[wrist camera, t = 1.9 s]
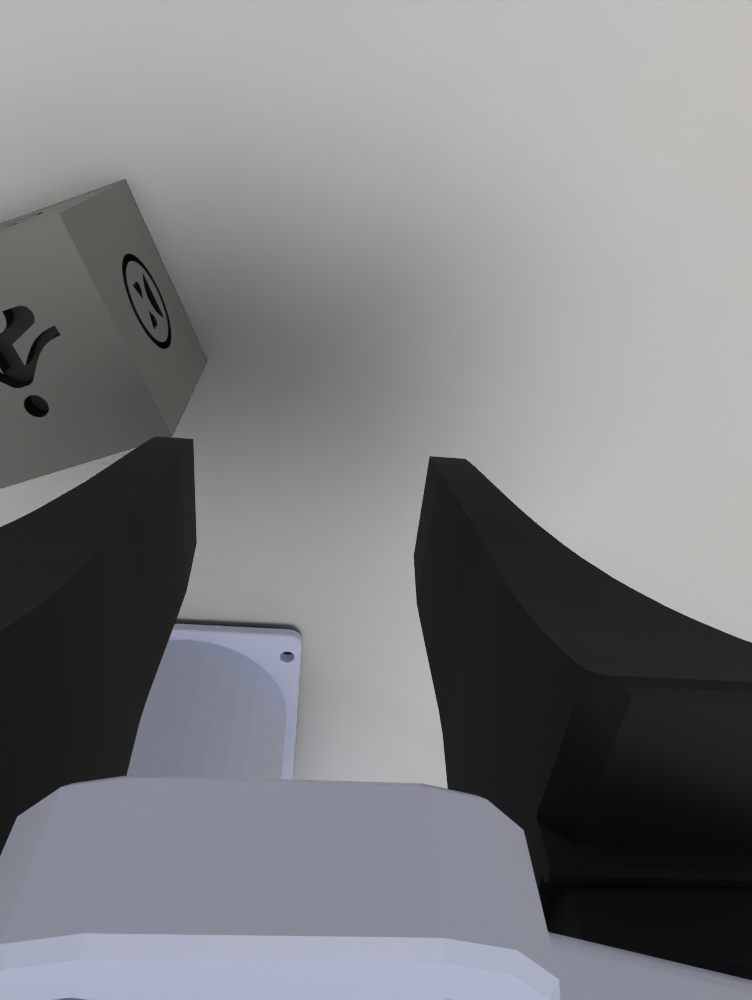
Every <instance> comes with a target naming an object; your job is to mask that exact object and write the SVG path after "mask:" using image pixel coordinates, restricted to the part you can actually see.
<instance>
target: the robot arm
mask: <svg viewBox="0 0 752 1000" xmlns="http://www.w3.org/2000/svg"><path fill="white" fill-rule="evenodd" d="M195 548H196V512H195V481H194V450H193V439H183V438H169V437H156V436H155V437H153V438H152V439H150V440H148V441H146V442H145V443H143V444H142V445H140V446H139V447H137V448H136V449H134V450H133V451H131V452H130V453H128V454H127V455H125V456H124V457H122V458H121V459H119V460H118V461H116V462H115V463H113V464H112V465H110V466H109V467H107V468H106V469H104V470H102V471H101V472H99V473H98V474H96V475H95V476H93V477H92V478H90V479H89V480H87V481H86V482H84V483H82V484H81V485H79V486H77V487H75V488H74V489H72V490H70V491H68V492H67V493H65V494H63V495H61V496H60V497H58V498H56V499H54V500H53V501H51V502H49V503H48V504H46V505H44V506H42V507H41V508H39V509H37V510H35V511H33V512H31V513H29V514H27V515H25V516H23V517H21V518H19V519H17V520H15V521H13V522H11V523H9V524H6V525H4V526H2V527H0V1000H752V643H751V642H748V641H745V640H742V639H740V638H737V637H735V636H732V635H730V634H727V633H725V632H722V631H720V630H718V629H715V628H713V627H711V626H708V625H706V624H703V623H701V622H699V621H696V620H694V619H692V618H689V617H687V616H685V615H683V614H681V613H679V612H677V611H674V610H672V609H670V608H668V607H666V606H664V605H662V604H660V603H658V602H656V601H654V600H653V599H651V598H649V597H647V596H645V595H643V594H641V593H639V592H637V591H635V590H633V589H632V588H630V587H628V586H626V585H625V584H623V583H621V582H619V581H618V580H616V579H614V578H612V577H611V576H609V575H608V574H606V573H605V572H603V571H601V570H600V569H598V568H597V567H595V566H594V565H592V564H591V563H589V562H587V561H586V560H584V559H583V558H581V557H580V556H578V555H577V554H576V553H574V552H573V551H571V550H570V549H569V548H567V547H566V546H564V545H563V544H562V543H561V542H559V541H558V540H557V539H556V538H554V537H553V536H552V535H550V534H549V533H548V532H547V531H545V530H544V529H543V528H541V527H540V526H539V525H538V524H537V523H536V522H534V521H533V520H532V519H531V518H530V517H528V516H527V515H526V514H525V513H524V512H523V511H522V510H520V509H519V508H518V507H517V506H516V505H515V504H514V503H513V502H512V501H510V500H509V499H508V498H507V497H506V496H505V495H504V494H503V493H502V492H501V491H500V490H499V489H498V488H497V487H496V486H495V485H494V484H492V483H491V482H490V481H489V480H488V479H487V478H486V477H485V476H484V475H483V474H482V473H481V472H480V471H479V470H478V469H477V468H476V467H474V466H473V465H472V464H471V463H470V462H469V461H467V460H466V459H458V458H445V457H431V456H430V458H429V464H428V471H427V477H426V483H425V489H424V496H423V502H422V508H421V515H420V521H419V527H418V533H417V540H416V546H415V552H414V566H415V583H416V597H417V606H418V612H419V617H420V622H421V627H422V632H423V637H424V641H425V646H426V651H427V656H428V661H429V665H430V670H431V675H432V680H433V684H434V689H435V694H436V699H437V704H438V708H439V714H440V720H441V727H442V733H443V742H444V752H445V763H446V774H447V784H448V789H445V788H440V787H435V786H431V785H426V784H415V783H384V782H352V781H321V780H293V772H294V756H295V741H296V726H297V711H298V695H299V680H300V665H301V650H302V638H301V636H300V634H299V633H298V632H296V631H294V630H289V629H272V628H252V627H232V626H212V625H192V624H175V621H176V619H177V616H178V613H179V610H180V608H181V605H182V602H183V599H184V596H185V593H186V590H187V586H188V581H189V577H190V572H191V567H192V562H193V557H194V552H195ZM283 652H291V653H292V654H289V655H286V654H283Z"/></svg>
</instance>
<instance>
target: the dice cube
mask: <svg viewBox="0 0 752 1000" xmlns="http://www.w3.org/2000/svg"><path fill="white" fill-rule="evenodd" d="M206 362H207V358H206V356H205V354H204V352H203V349H202V347H201V345H200V343H199V341H198V338H197V336H196V334H195V332H194V330H193V327H192V325H191V323H190V321H189V319H188V316H187V314H186V312H185V310H184V308H183V305H182V303H181V301H180V299H179V297H178V294H177V292H176V290H175V288H174V286H173V283H172V281H171V279H170V277H169V274H168V272H167V270H166V268H165V266H164V263H163V261H162V259H161V257H160V255H159V252H158V250H157V248H156V246H155V244H154V241H153V239H152V237H151V235H150V233H149V230H148V228H147V226H146V224H145V222H144V219H143V217H142V215H141V213H140V211H139V208H138V206H137V204H136V202H135V200H134V197H133V195H132V193H131V191H130V189H129V186H128V184H127V182H126V180H122V181H119V182H116V183H114V184H111V185H108V186H105V187H102V188H100V189H97V190H94V191H91V192H88V193H86V194H83V195H80V196H77V197H74V198H71V199H69V200H66V201H63V202H60V203H57V204H55V205H52V206H49V207H46V208H43V209H41V210H38V211H35V212H32V213H29V214H26V215H24V216H21V217H18V218H15V219H12V220H10V221H7V222H4V223H1V224H0V489H1V488H4V487H7V486H11V485H14V484H17V483H21V482H24V481H27V480H30V479H34V478H37V477H40V476H43V475H47V474H50V473H53V472H57V471H60V470H63V469H66V468H70V467H73V466H76V465H79V464H83V463H86V462H89V461H93V460H96V459H99V458H102V457H106V456H109V455H112V454H115V453H119V452H122V451H125V450H129V449H132V448H135V447H138V446H140V445H142V444H143V443H145V442H146V441H148V440H150V439H152V438H153V437H155V436H156V437H171V436H173V434H174V431H175V429H176V427H177V425H178V423H179V421H180V419H181V416H182V414H183V412H184V410H185V408H186V406H187V403H188V401H189V399H190V397H191V395H192V393H193V390H194V388H195V386H196V384H197V382H198V380H199V377H200V375H201V373H202V371H203V369H204V367H205V364H206Z"/></svg>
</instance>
